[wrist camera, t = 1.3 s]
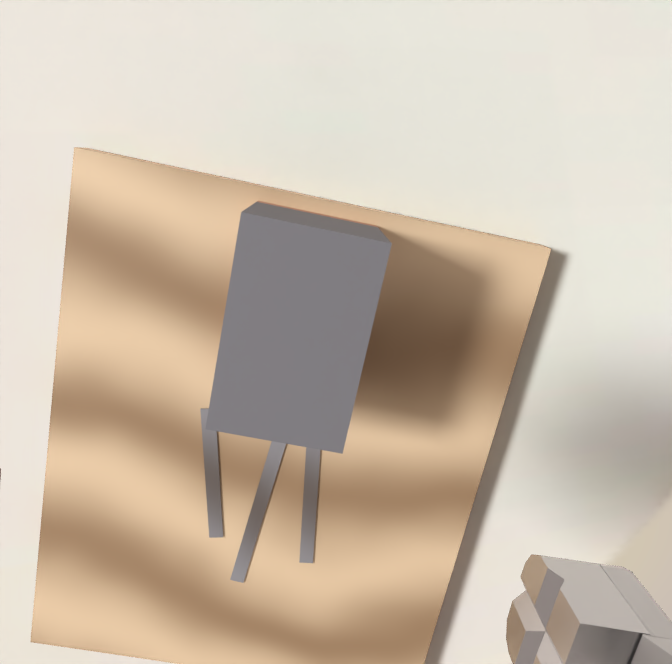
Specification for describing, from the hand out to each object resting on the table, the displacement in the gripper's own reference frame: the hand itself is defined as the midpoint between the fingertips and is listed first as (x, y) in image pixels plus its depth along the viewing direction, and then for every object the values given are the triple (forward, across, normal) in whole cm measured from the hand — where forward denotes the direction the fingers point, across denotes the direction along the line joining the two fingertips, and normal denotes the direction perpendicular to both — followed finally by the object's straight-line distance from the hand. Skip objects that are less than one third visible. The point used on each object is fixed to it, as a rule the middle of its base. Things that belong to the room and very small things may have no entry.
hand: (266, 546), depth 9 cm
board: (+16, 0, +6) cm, 17 cm away
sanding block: (+15, 0, -1) cm, 15 cm away
